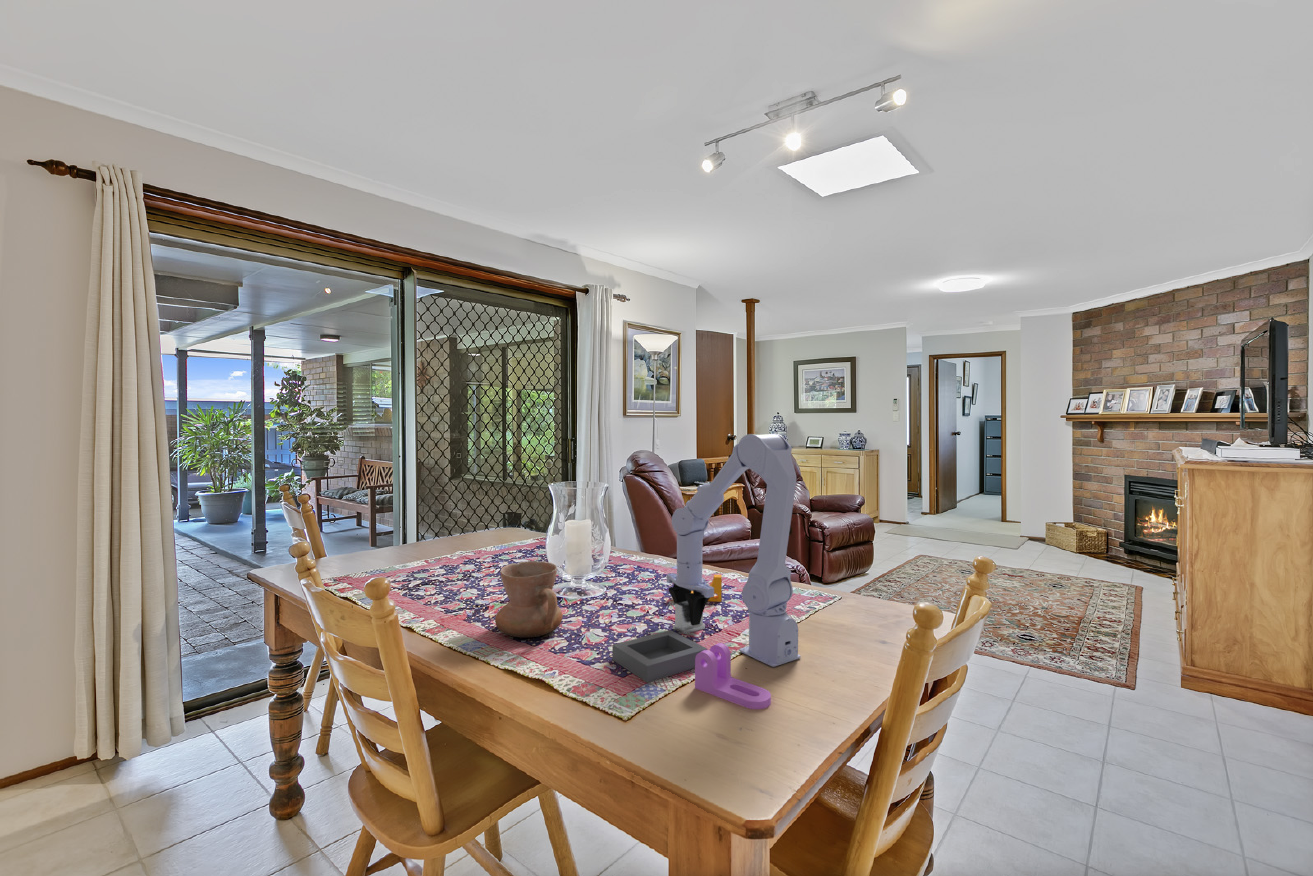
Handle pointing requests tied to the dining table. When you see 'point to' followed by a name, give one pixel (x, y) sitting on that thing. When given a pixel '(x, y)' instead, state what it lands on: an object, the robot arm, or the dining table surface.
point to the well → (657, 655)
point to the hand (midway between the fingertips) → (689, 621)
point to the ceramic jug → (529, 600)
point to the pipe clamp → (716, 588)
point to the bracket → (726, 679)
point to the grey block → (685, 619)
